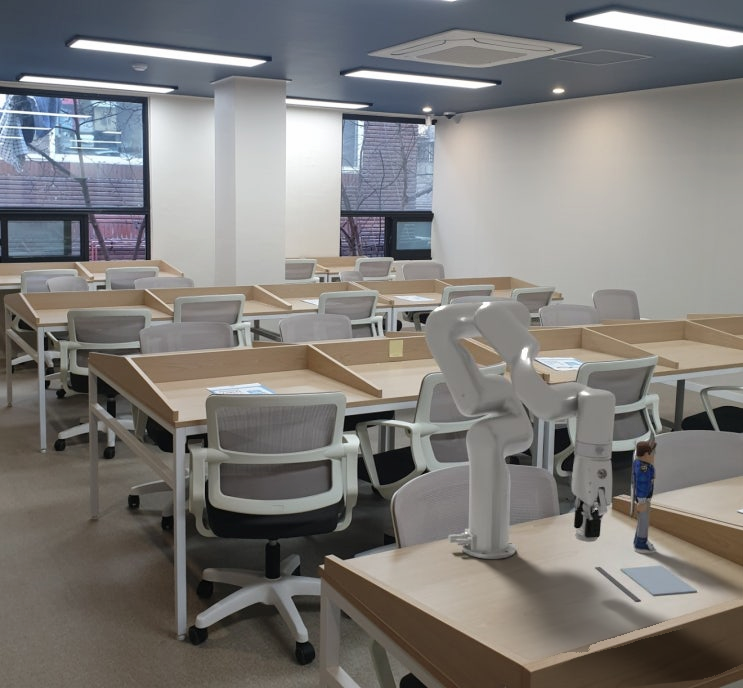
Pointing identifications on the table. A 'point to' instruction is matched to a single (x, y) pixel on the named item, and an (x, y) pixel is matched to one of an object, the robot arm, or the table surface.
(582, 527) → the chess piece
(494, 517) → the robot arm
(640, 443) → the figurine
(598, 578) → the table surface
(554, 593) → the table surface
